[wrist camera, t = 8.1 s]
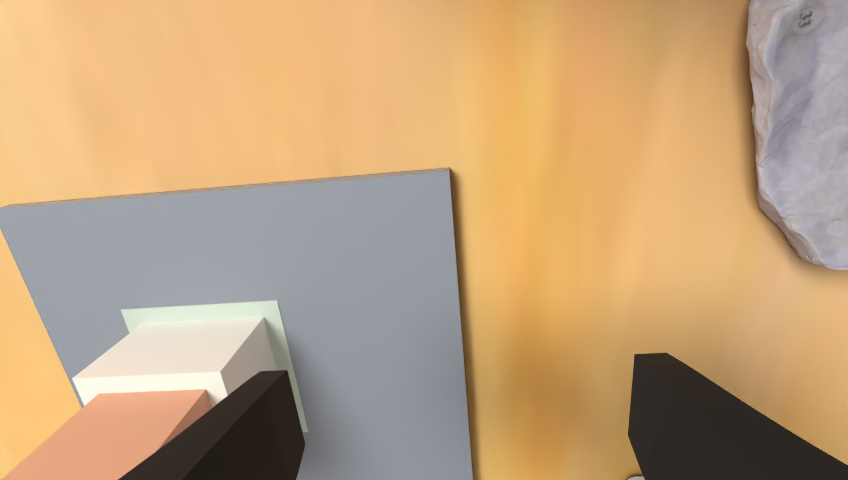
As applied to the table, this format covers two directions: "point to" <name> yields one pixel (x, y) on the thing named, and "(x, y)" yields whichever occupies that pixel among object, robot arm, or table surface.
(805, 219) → the stone block
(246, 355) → the cream base block
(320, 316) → the board
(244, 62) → the table surface
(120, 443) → the orange cube
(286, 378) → the robot arm
